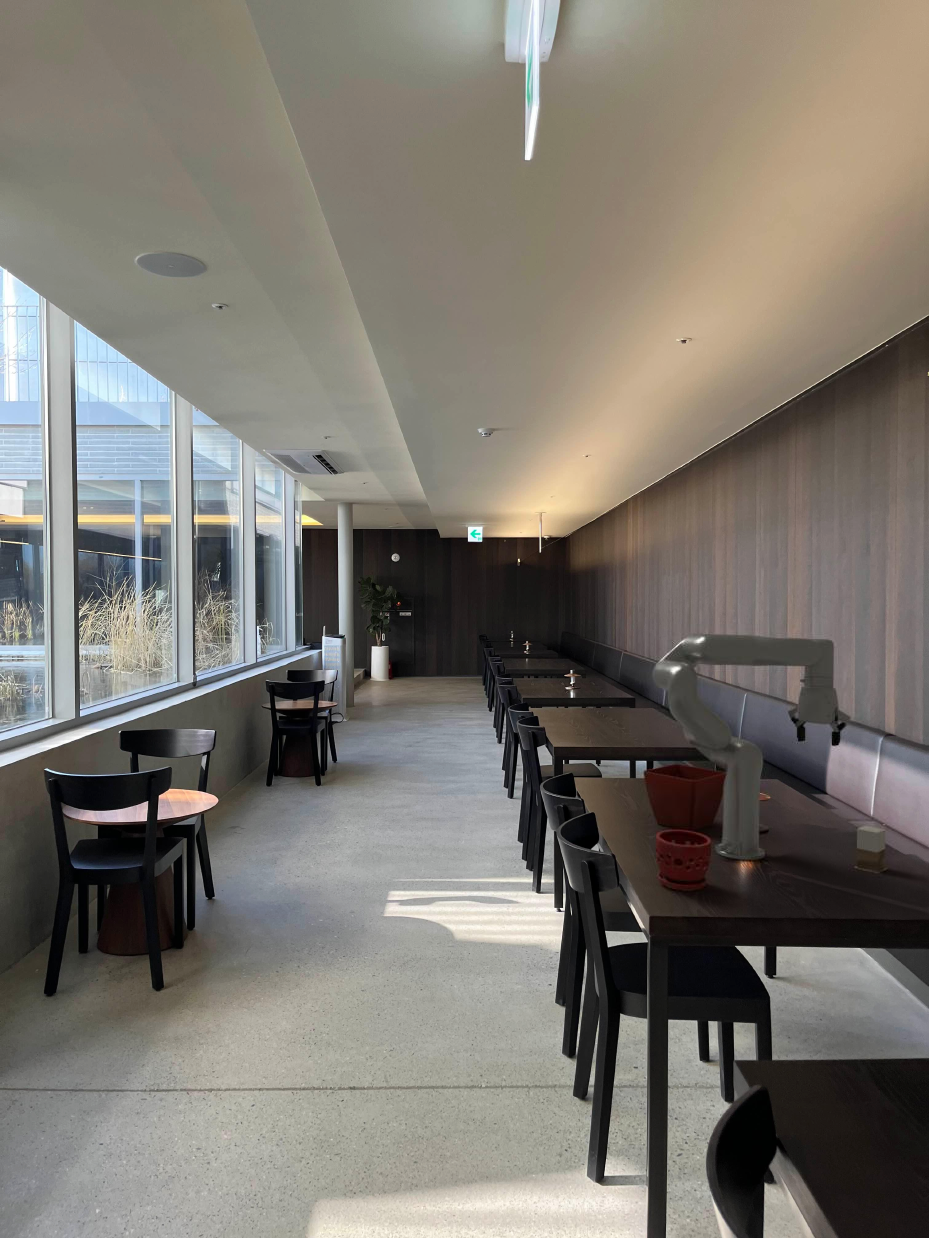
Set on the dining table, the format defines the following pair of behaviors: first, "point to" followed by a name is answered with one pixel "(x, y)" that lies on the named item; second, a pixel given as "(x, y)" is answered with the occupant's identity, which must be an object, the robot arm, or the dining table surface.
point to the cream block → (871, 838)
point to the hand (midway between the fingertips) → (818, 743)
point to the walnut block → (871, 860)
